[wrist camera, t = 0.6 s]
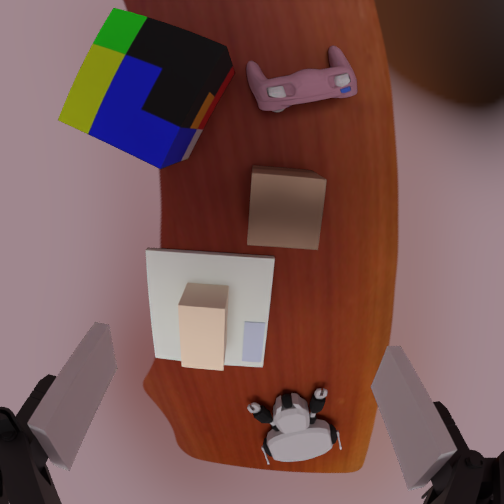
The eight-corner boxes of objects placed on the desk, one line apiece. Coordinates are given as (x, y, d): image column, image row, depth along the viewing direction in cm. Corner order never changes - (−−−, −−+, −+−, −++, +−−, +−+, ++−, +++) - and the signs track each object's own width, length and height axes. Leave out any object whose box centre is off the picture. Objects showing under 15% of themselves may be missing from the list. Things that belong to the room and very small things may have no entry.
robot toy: (242, 391, 43) (268, 449, 47) (241, 412, 39) (268, 469, 43) (326, 373, 42) (338, 435, 46) (332, 393, 38) (343, 454, 41)
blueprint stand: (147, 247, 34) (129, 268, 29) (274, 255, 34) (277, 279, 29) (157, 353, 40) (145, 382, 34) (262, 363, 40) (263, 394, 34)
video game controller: (252, 100, 30) (261, 126, 25) (241, 60, 27) (248, 77, 22) (342, 82, 29) (369, 104, 24) (336, 43, 26) (365, 57, 21)
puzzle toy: (188, 158, 31) (160, 169, 22) (108, 121, 29) (57, 120, 20) (234, 72, 28) (226, 46, 18) (151, 38, 26) (113, 7, 17)
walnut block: (252, 165, 31) (252, 173, 25) (311, 170, 31) (326, 179, 25) (248, 222, 33) (247, 245, 27) (305, 226, 33) (317, 249, 27)
